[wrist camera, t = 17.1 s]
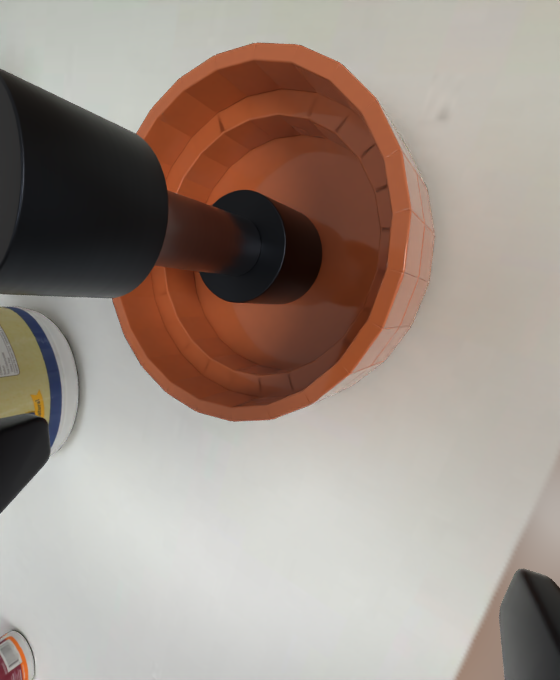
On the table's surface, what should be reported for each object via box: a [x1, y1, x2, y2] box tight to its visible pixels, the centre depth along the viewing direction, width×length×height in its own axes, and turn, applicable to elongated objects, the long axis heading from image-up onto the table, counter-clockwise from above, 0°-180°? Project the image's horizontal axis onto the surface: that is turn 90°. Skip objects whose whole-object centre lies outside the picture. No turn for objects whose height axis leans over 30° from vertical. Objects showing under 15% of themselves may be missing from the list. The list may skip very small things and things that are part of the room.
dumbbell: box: [0, 69, 322, 304], centre depth 14 cm, size 5×5×13 cm
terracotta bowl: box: [112, 43, 435, 422], centre depth 18 cm, size 14×14×5 cm
